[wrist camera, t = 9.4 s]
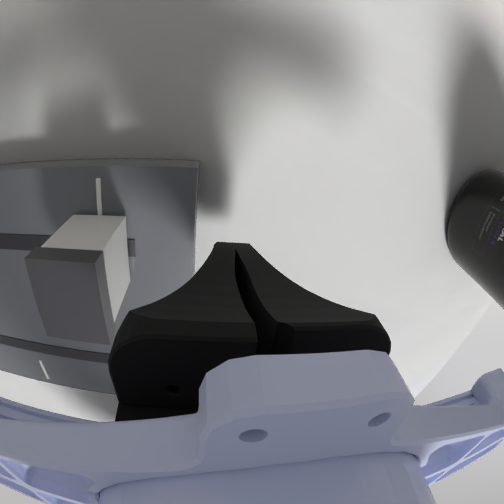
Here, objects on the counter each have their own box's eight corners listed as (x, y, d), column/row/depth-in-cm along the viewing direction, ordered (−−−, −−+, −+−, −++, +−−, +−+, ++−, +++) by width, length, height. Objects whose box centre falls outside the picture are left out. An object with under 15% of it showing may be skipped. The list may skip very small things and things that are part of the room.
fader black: (132, 282, 13) (110, 345, 9) (80, 278, 13) (47, 336, 9) (128, 213, 12) (95, 263, 8) (71, 212, 11) (24, 258, 8)
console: (194, 383, 19) (194, 401, 17) (-34, 344, 16) (-42, 356, 14) (199, 160, 13) (197, 168, 11) (-85, 177, 10) (-99, 185, 8)
